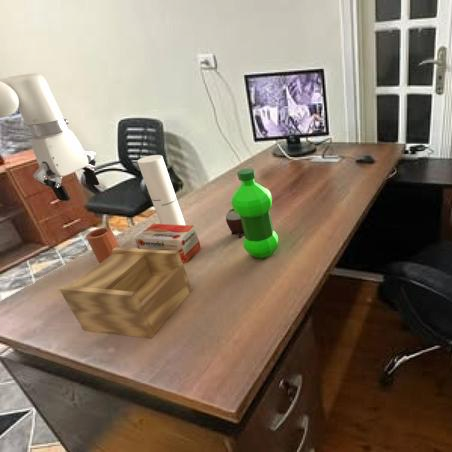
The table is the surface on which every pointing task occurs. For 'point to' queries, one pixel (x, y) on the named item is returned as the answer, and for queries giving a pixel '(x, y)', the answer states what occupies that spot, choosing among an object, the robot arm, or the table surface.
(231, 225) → the mate gourd
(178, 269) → the wooden crate
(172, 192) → the cylindrical container
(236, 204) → the plastic bottle
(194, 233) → the medicine box
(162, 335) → the table surface
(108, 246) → the jar
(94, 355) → the table surface
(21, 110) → the robot arm
